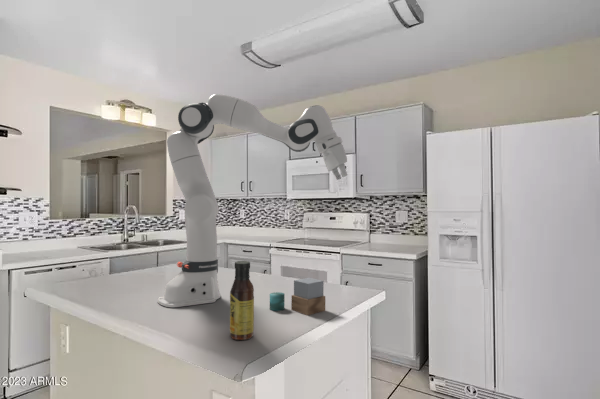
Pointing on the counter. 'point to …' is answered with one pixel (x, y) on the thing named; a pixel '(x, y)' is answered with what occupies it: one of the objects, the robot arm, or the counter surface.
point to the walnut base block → (308, 305)
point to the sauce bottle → (242, 303)
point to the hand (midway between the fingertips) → (342, 177)
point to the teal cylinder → (277, 301)
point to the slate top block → (308, 288)
